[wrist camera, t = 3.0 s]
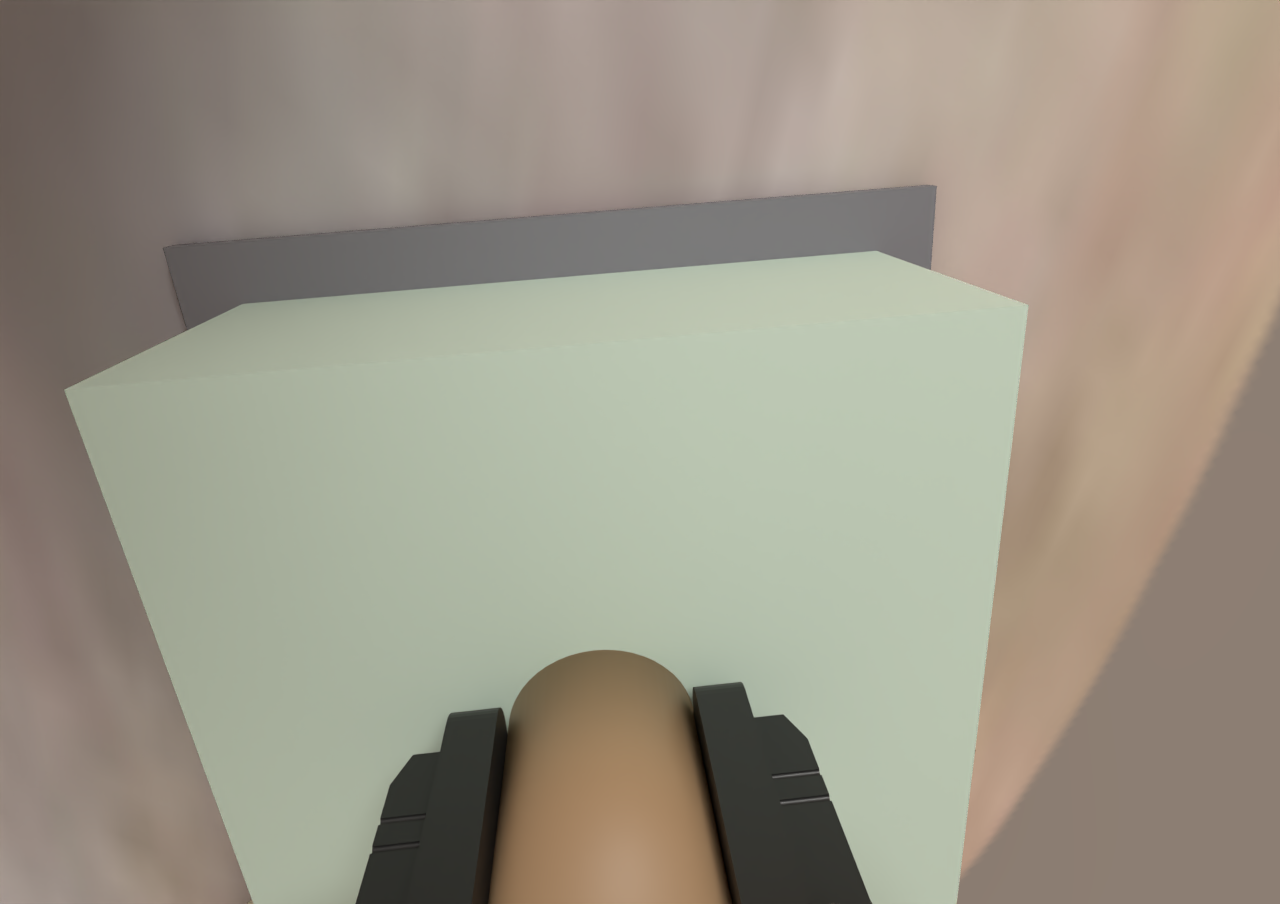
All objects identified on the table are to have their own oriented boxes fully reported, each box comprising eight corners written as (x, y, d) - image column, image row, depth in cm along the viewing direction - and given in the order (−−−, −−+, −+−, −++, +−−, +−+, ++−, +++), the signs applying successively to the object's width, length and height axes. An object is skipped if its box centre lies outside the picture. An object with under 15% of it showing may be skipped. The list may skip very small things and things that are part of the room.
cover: (243, 303, 14) (-284, 556, 5) (875, 250, 15) (1308, 405, 6) (372, 793, 18) (194, 1358, 10) (854, 738, 19) (1084, 1230, 10)
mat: (173, 244, 14) (163, 247, 14) (927, 184, 15) (936, 186, 14) (340, 819, 19) (336, 832, 19) (889, 756, 20) (895, 768, 20)
